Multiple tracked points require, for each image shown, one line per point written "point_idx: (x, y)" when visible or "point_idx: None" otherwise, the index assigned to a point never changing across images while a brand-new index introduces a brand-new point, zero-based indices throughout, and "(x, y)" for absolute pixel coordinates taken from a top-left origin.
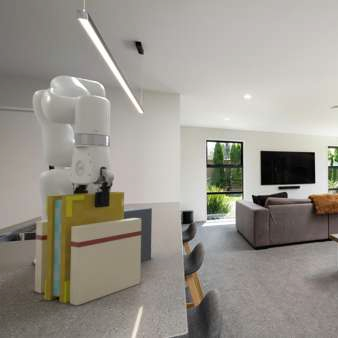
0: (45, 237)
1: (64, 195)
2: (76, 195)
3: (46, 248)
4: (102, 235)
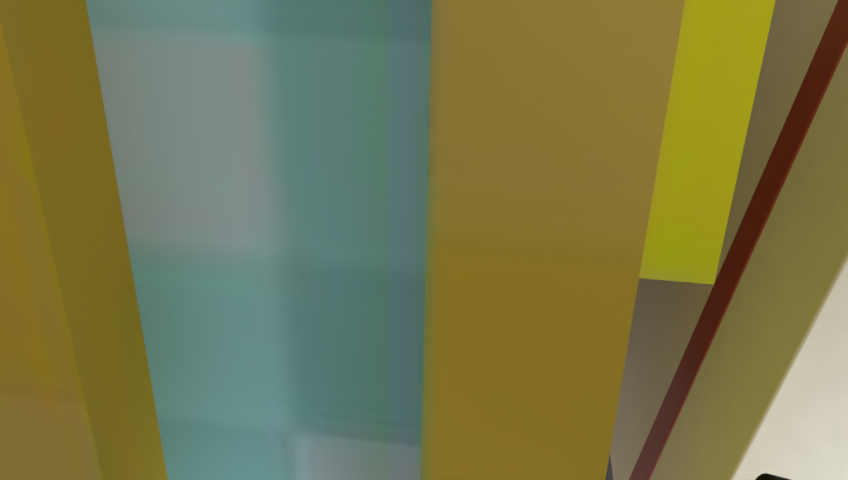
0: (845, 10)
1: (431, 82)
2: (28, 161)
3: (792, 8)
4: None
